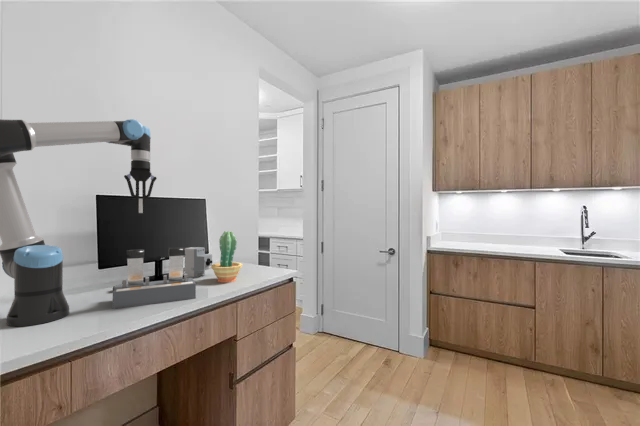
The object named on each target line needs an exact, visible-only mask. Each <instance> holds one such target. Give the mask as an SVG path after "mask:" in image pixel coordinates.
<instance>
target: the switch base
mask: <svg viewBox="0 0 640 426" xmlns="http://www.w3.org/2000/svg"><path fill="white" fill-rule="evenodd" d="M183 276H184V277H183V280H182V281H175V282H169V279H168V275H167V274H163V280H154V281H150V276H145V281H143V285H134V286H128V278H123V279H122V280H121V284H116V285H114V286H115V288H114V290H113V289H112V310H113V309H114V310H115V309H120V308H121V309H122V308H123V309H124V308H130V307H137V306H144V305H145V306H146V305H153V304H154V305H155V304H160V303H161V304H162V303H169V302H177V301H185V300H193V299H196V297H197V295H196V292H197V291H196V290H197V287H196V286H197V284H196V282H195V280H194V277H188V275H187V273H186V274H183Z"/></svg>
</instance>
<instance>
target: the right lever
mask: <svg viewBox="0 0 640 426" xmlns="http://www.w3.org/2000/svg"><path fill="white" fill-rule="evenodd" d="M185 248H186V247H168V257H169V259H168V262H169V263H168V264H169V266H168V280H169V282H175V281H182V280H183V279H184V277H183V276H184V274H183V268H184V261H185V257H184V256H185Z"/></svg>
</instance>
